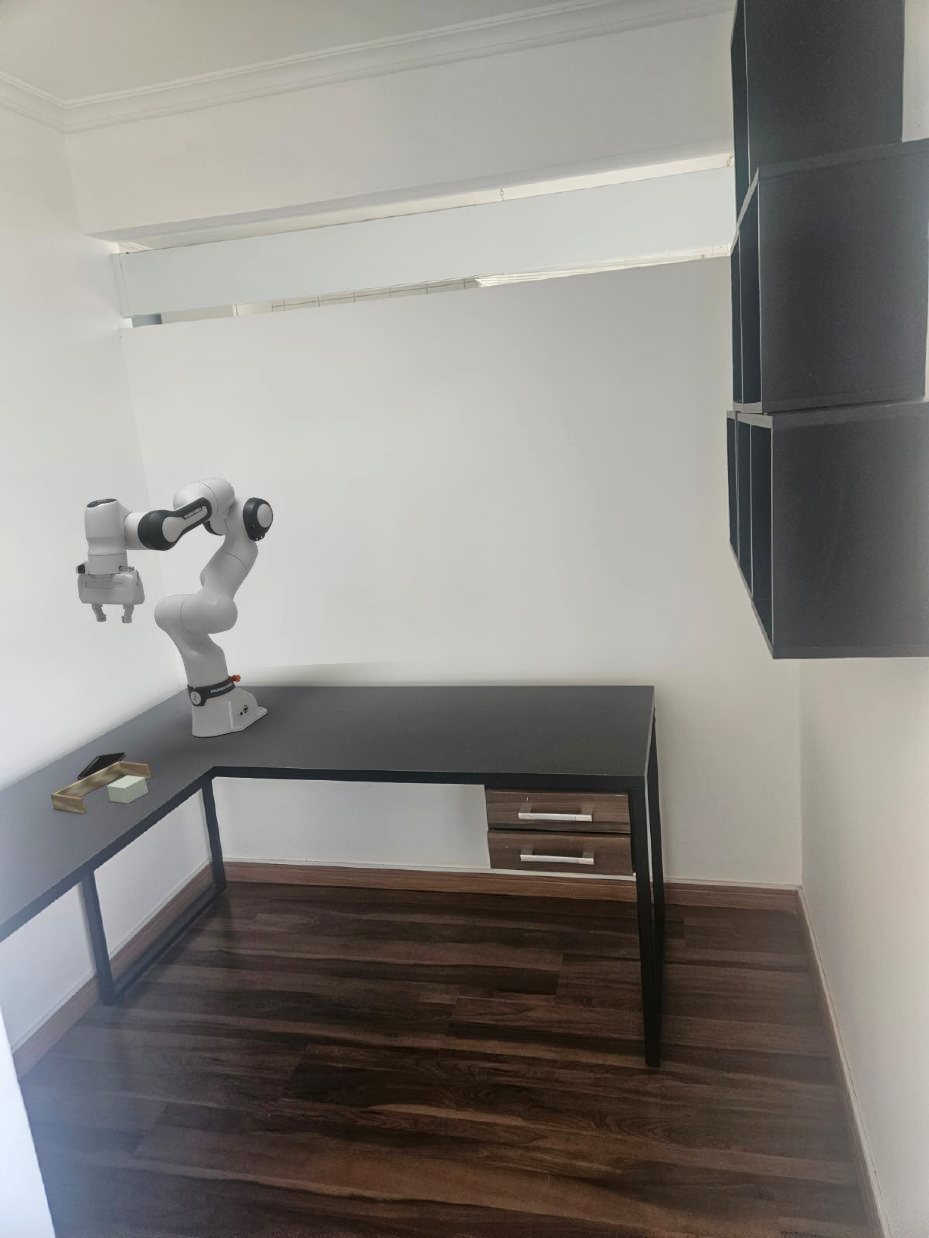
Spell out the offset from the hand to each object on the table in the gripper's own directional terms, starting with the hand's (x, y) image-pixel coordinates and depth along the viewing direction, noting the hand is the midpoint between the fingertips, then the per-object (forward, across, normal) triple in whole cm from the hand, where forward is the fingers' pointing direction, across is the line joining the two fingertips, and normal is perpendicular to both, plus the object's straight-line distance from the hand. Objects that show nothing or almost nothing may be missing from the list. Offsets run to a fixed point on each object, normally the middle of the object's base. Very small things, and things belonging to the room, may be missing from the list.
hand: (114, 622), depth 212 cm
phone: (+40, +12, -2) cm, 41 cm away
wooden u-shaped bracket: (+40, -3, +10) cm, 41 cm away
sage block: (+40, -12, +10) cm, 43 cm away
